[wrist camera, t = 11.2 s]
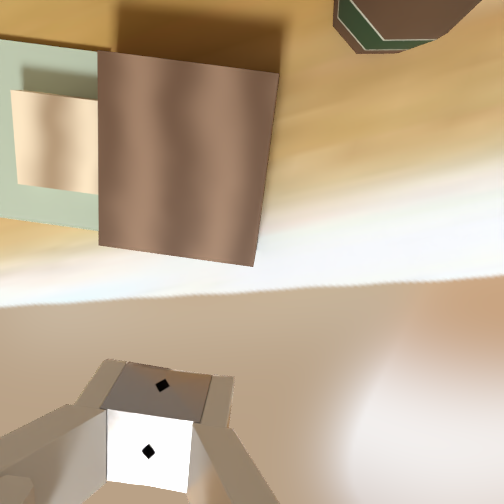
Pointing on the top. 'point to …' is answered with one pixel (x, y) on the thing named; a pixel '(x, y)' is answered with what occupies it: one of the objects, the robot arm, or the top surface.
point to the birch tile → (56, 140)
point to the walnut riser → (182, 156)
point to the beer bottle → (396, 22)
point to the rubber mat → (3, 146)
